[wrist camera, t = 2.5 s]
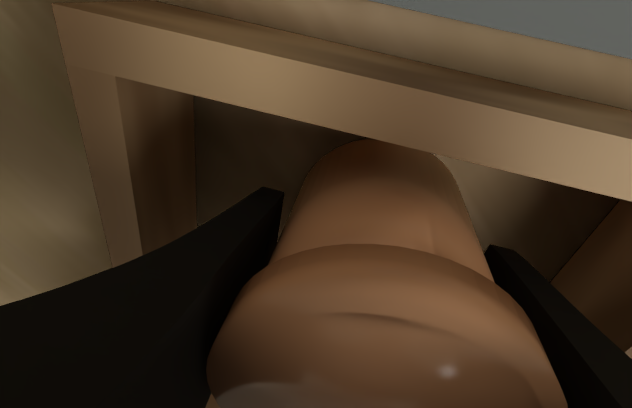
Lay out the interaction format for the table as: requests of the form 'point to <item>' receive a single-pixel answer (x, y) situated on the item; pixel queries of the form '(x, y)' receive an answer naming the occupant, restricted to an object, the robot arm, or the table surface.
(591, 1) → the mat
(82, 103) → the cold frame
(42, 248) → the table surface
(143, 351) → the robot arm
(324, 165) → the pot
